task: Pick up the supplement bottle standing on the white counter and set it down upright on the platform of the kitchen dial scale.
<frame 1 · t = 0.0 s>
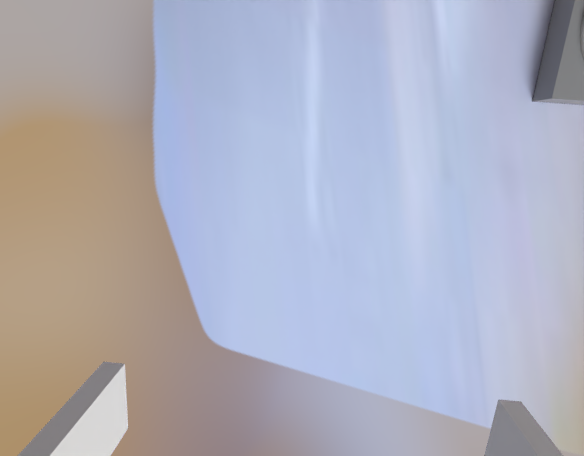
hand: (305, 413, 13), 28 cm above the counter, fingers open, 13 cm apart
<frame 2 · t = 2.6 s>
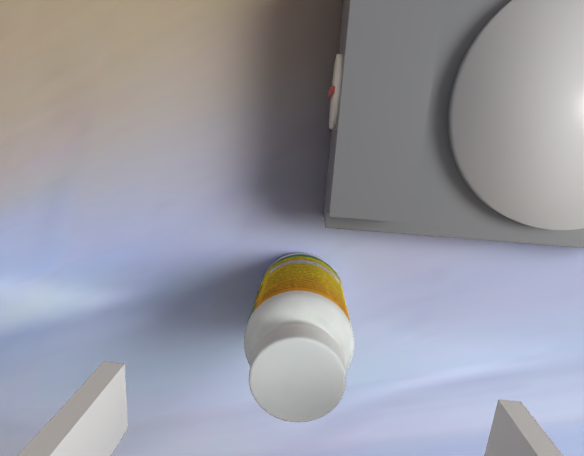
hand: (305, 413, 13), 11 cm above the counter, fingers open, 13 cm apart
scale: (490, 109, 21), on the counter
supplement bottle: (301, 287, 24), on the counter
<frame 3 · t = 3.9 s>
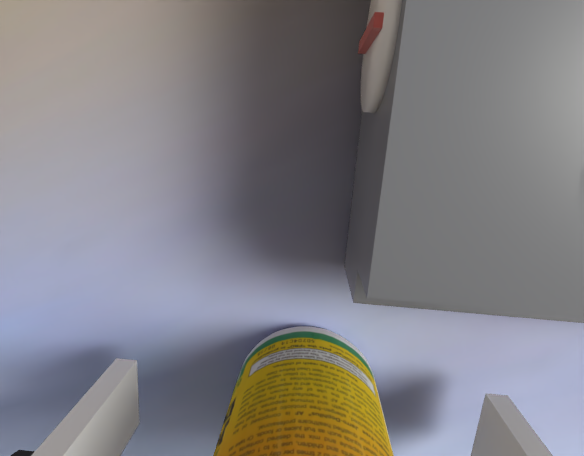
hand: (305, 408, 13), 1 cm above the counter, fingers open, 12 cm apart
supplement bottle: (306, 377, 15), on the counter
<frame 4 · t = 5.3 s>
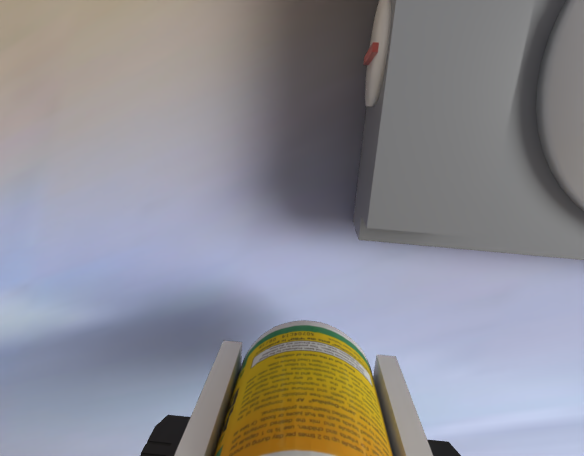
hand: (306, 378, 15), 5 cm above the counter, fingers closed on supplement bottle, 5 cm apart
supplement bottle: (305, 370, 15), point 4 cm above the counter, touching gripper
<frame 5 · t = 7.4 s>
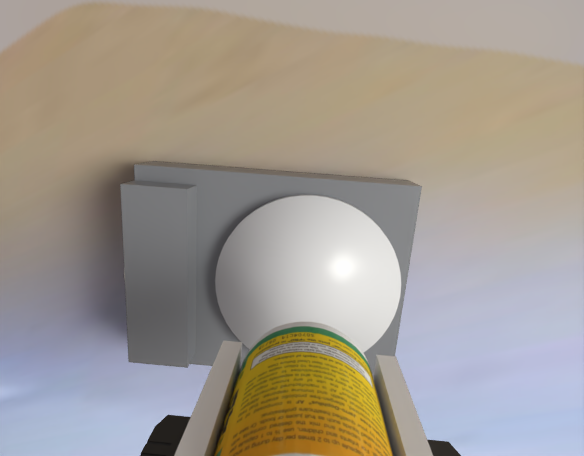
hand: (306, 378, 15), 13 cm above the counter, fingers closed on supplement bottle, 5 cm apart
scale: (274, 264, 27), on the counter
supplement bottle: (305, 371, 15), point 12 cm above the counter, touching gripper
when the fingers open (5 cm above the counter, at t = 9.4 s): supplement bottle stays where it is, resting on scale.
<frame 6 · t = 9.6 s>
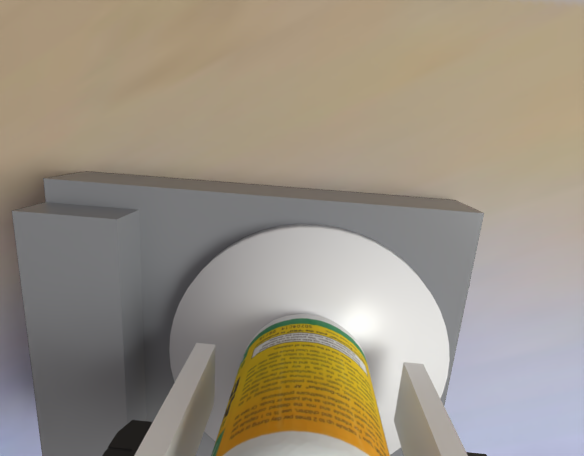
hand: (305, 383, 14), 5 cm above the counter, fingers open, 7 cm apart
scale: (260, 316, 19), on the counter
supplement bottle: (304, 362, 16), point 4 cm above the counter, touching scale
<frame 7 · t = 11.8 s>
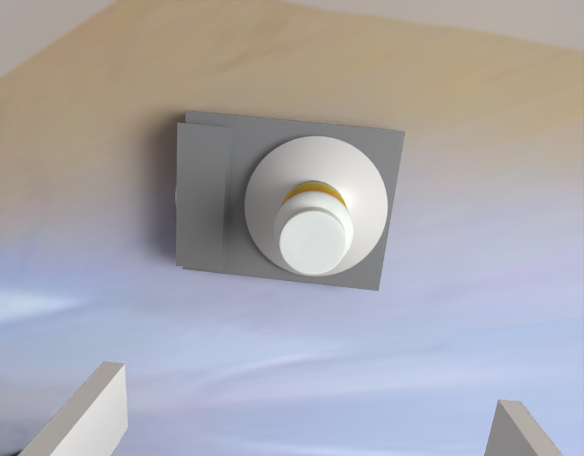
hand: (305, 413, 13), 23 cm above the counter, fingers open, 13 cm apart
scale: (288, 198, 34), on the counter
supplement bottle: (313, 210, 31), point 4 cm above the counter, touching scale
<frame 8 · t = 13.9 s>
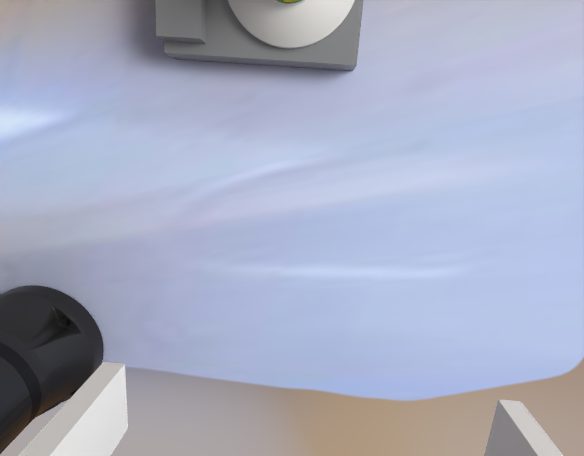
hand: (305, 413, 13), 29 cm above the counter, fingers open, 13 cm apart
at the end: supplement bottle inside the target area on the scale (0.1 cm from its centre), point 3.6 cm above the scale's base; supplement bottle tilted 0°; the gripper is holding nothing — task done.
